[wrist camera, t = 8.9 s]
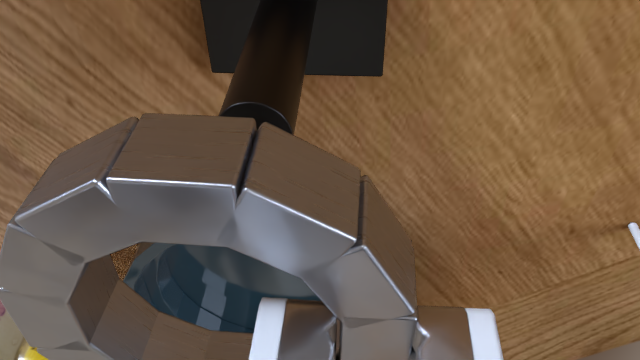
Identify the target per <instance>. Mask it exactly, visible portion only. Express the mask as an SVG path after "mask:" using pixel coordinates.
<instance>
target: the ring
mask: <svg viewBox="0 0 640 360" xmlns="http://www.w3.org/2000/svg"><path fill="white" fill-rule="evenodd" d="M360 173H361V171H360V169H359V168H357V167H355V166H353V165H351V164H349V163H347V162H346V161H344V160H342V159H340V158H338V157H336V156H334V155H332V154H330V153H328V152H326V151H324V150H322V149H320V148H318V147H316V146H314V145H312V144H310V143H308V142H306V141H304V140H302V139H300V138H298V137H296V136H294V135H292V134H290V133H288V132H286V131H284V130H282V129H280V128H278V127H276V126H274V125H272V124H270V123H268V122H264V123H262V124H261V126H260V127H259V129H258V130H257V129H256V121H255V119H254V118H244V117H222V116H199V115H177V114H155V113H145V114H143V115H142V117H141V118H140V120H139V119H138V118H136V117H130V118H128V119H126V120H124V121H123V122H121V123H119V124H117V125H115V126H113V127H111V128H109V129H107V130H105V131H103V132H101V133H99V134H97V135H95V136H94V137H92V138H90V139H88V140H86V141H84V142H82V143H80V144H78V145H76V146H74V147H72V148H70V149H68V150H66V151H65V152H63V153H61V154H59V155H58V157H57V158H56V159H54V160H53V161H52V163H51V164H50V165H49V167H48V168H47V170H46V171H45V172H44V174H43V175H42V177H41V178H40V179H39V181H38V182H37V184H36V185H35V186H34V188H33V189H32V191H31V192H30V194H29V195H28V196H27V198H26V199H25V201H24V202H23V203H22V205H21V206H20V208H19V209H18V210H17V212H16V213H15V215H14V216H13V217H12V219H11V220H10V222H9V223H8V225H7V229H6V233H5V237H4V241H3V245H2V248H1V252H0V301H1V302H2V304H3V305H4V307H5V308H6V310H7V311H8V313H9V315H10V316H11V318H12V319H13V321H14V322H15V324H16V325H17V327H18V328H19V330H20V332H21V333H22V335H23V336H24V338H25V339H26V341H27V342H28V344H29V346H31V347H37V352H38V353H39V354H41V355H42V356H44V357H45V358H47V359H48V360H249V355H250V350H251V345H252V340H253V334H254V333H242V332H228V331H214V330H209V329H206V328H203V327H201V326H198V325H195V324H193V323H190V322H187V321H185V320H182V319H179V318H177V317H174V316H171V315H169V314H166V313H163V312H161V311H158V310H157V309H156V308H155V307H153V306H152V305H151V304H150V303H148V302H147V301H146V300H145V299H144V298H142V297H141V296H140V295H139V294H138V293H136V292H135V291H134V290H133V289H132V288H130V287H129V286H128V285H127V284H126V283H124V282H123V281H122V280H121V279H119V277H118V274H117V271H116V269H115V266H114V264H113V261H112V259H111V256H110V254H112V253H114V252H117V251H120V250H122V249H125V248H127V247H130V246H132V245H135V244H137V243H140V242H152V243H169V244H185V245H201V246H218V247H228V248H230V249H233V250H235V251H238V252H240V253H242V254H245V255H247V256H249V257H252V258H254V259H256V260H259V261H261V262H263V263H266V264H268V265H270V266H273V267H275V268H278V269H280V270H282V271H285V272H287V273H289V274H292V275H294V276H296V277H299V278H301V279H302V280H303V281H304V282H305V283H306V284H307V285H308V287H309V288H310V289H311V290H312V291H313V292H314V293H315V294H316V295H317V297H318V298H319V299H320V300H321V301H322V302H323V303H324V304H325V305H326V307H327V308H328V309H329V310H330V311H331V312H332V313H333V314H334V315H335V316H336V318H337V345H336V360H409V356H410V354H411V351H412V339H413V334H414V328H415V323H416V322H417V320H418V316H417V297H416V279H415V260H414V248H413V246H412V240H411V239H410V237H409V236H408V234H407V233H406V232H405V230H404V229H403V227H402V226H401V224H400V223H399V221H398V220H397V218H396V217H395V215H394V214H393V212H392V211H391V209H390V208H389V206H388V205H387V203H386V202H385V200H384V199H383V197H382V196H381V194H380V193H379V191H378V190H377V188H376V187H375V185H374V184H373V182H372V181H371V179H370V178H369V177H368V176H367V175H364V176H362V177H360Z"/></svg>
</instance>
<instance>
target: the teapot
mask: <svg viewBox="0 0 640 360" xmlns="http://www.w3.org/2000/svg"><path fill="white" fill-rule="evenodd" d="M0 360H48V359H47V358H45V357H44V356H42V355H41V354H39V353H38V352H37V347H31V346H29V344H28V342H27V341H26V339H25V338H24V336H23V335H22V333H21V332H20V330H19V328H18V327H17V325H16V324H15V322H14V321H13V319H12V318H11V316H10V315H9V313H8V311H7V310H6V308H5V307H4V305H3V304H2V302H1V301H0Z"/></svg>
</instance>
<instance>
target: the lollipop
mask: <svg viewBox="0 0 640 360" xmlns="http://www.w3.org/2000/svg"><path fill="white" fill-rule="evenodd" d="M628 227H629V229H630V231H631V233H632V235H633V238H634V240H635V242H636V244H637V246H638V248H639V250H640V230H639V228H638V226H637V224H636V223H630V224H629V225H628Z"/></svg>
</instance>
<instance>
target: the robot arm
mask: <svg viewBox="0 0 640 360" xmlns="http://www.w3.org/2000/svg"><path fill="white" fill-rule="evenodd" d="M417 316H418V320H417V322H416V323H415V328H414V334H413V339H412V351H411V354H410V356H409V360H503V355H502V350H501V345H500V340H499V335H498V330H497V325H496V320H495V315H494V313H493V312H492V310H491V309H475V308H463V307H445V306H417ZM336 345H337V318H336V316H335V315H334V314H333V313H332V312H331V311H330V310H329V309H328V308H327V307H326V305H325V304H324V303H323V302H322V301H313V300H298V299H287V298H267V297H262V299H261V302H260V304H259V308H258V313H257V318H256V324H255V329H254V334H253V340H252V345H251V350H250V355H249V360H336Z"/></svg>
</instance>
